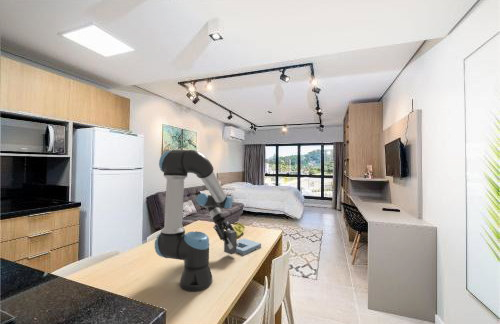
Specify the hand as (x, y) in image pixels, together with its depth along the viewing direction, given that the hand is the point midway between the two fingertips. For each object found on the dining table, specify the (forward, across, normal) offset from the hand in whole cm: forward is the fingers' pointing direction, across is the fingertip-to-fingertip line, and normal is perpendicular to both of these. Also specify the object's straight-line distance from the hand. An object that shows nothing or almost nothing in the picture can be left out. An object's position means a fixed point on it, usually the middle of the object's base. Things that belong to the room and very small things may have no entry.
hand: (234, 247), depth 134 cm
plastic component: (-18, -33, -27) cm, 46 cm away
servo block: (0, 0, -6) cm, 6 cm away
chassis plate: (0, -16, -9) cm, 18 cm away
